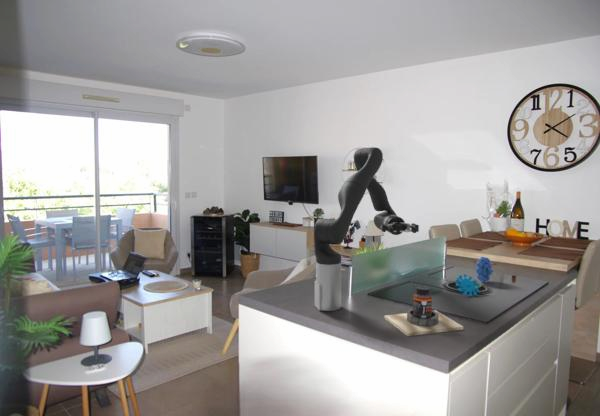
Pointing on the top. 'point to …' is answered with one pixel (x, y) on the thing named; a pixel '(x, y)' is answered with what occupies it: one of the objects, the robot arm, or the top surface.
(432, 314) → the metal collar
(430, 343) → the top surface
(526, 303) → the top surface
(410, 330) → the birch board
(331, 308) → the robot arm
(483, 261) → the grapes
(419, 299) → the supplement bottle
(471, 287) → the gear
